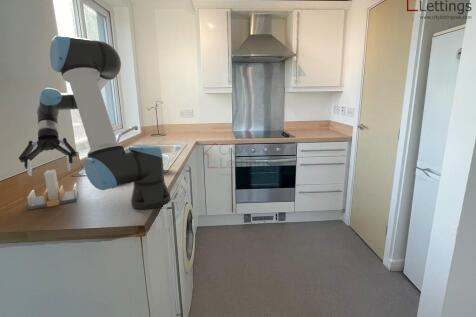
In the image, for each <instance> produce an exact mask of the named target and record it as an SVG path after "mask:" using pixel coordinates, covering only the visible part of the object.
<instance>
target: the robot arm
mask: <svg viewBox="0 0 476 317" xmlns="http://www.w3.org/2000/svg"><path fill="white" fill-rule="evenodd" d="M49 47H50V48H49V60H50V65H51V69H52V70H53V71H54V72H56V73H61V76H62V79H63V81H65V82H66V83H68V84H69V85H70V89H71V92H69V93H68V92H65V93H64V92H63V93H62V92H61V91H59V89H56V88H52V87H46V88H43V89H42V90H41V92H40V96H39V103H38V104H39V105H38V106H37V110H36V114H37V141H33V140H29V141H28V145H27V146H25V148H24V150H23V151H22V153H21V154H20V155H19V157H18V160H19V161H20V163H24V168H25V169H26V172H27V174H28V176H29V177H32V176H33V175H32V173H33V171H32V170H33V168H32V167H33V165H32V164H33V163H32V161H33V159H35V158H36V157H37V156H38V155H39V154H40V153H42V152H44V151H45V152H46V151H54V150H57V151H58V152H60V153H62V154H63V155H65V156H66V167H67V170H68V172H70V171H71V164H73V163H74V161H73V157H77V156H78V154H77V151H76V150H75V149H74V148H73V147H72V146H71V144H70V143H69V142H68V140H67V138H66V137H63V138H62V139H60V137H59V125H58V123H59V122H58V116H59V112H60V111H65V110H78V113H79V117H80V120H81V123H82V126H83V129H84V132H85V135H86V138H87V142H88V144H89V147H90V148H89V151H88V152H87V154H86V155H87V158H86V159H85V160H84V162H83V166H84V172H85V175H86V176H87V177H86V178H87V179H88V180H89V182H90V183H91V185H92V186H93V187H95V188H96V189H98V190H99V191H105V190H110V189H114V188H115V189H116V188H117V187H121V186H124V185H127V184H132V183H133V188H132V193H131V198H130V206H131V207H132V208H134V209H137V210H150V209H151V210H152V209H156V208H160V207H162V206H165V205H167V204H168V203H170V202H171V200H172V199H171V198H172V197H171V193H170V191H169V189H168V186H167V184H166V182H165V174H164V160H163V161H162V158H163V152H162V149H161V148H160V147H159V146H157V145H145V144H135V145H130V146H129V147H128V151H127V150H125V147H124V145H123V144H121V143H119V142H118V140H117V137H116V135H115V131H114V129H113V125H112V122H111V119H110V116H109V114H108V110H107V107H106V103H105V100H104V97H103V94H102V89H103V88H104V87H105V86H106V85H107V83H108V82H110V81H111V80H114V79H115V78H116V77H117V76H118V75H119V73H120V70H121V67H122V62H121V58H120V55H119V53H118V52H117V51H116V49H115V48H114V47H113V46H112V45H110V44H109V43H107V42H104V41H102V40H96V39H95V40H94V39H88V38H80V37H73V36H70V35H55V36H54V37H53V38H52V40H51V42H50V46H49ZM60 144H62V145H64V146H65V147H66V148H67V149H65V148H64V147H62V146H61V145H60Z"/></svg>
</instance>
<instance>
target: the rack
mask: <svg viewBox="0 0 476 317" xmlns="http://www.w3.org/2000/svg"><path fill="white" fill-rule="evenodd" d="M58 193H59V199H57V200H51V201H50V200H49V195H48V190H47V188H46V189H45V191H44V192H43V194H42V195H39V196H36V193H35V189H32V190H31V191H30V192H29V194H28V196H27V197H26V199H27V203H28V207H27V208H28V210H34V209H40V208H45V207H47V208H48V207H53V206H54V207H55V206H59V205H63V204H67V203H74V202H78V196H79V190H78V185H77V183H76V182H75V183H74V184H73V189H72V190H69V191H65V189H64V185H60V187H59V192H58Z"/></svg>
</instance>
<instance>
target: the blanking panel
mask: <svg viewBox="0 0 476 317" xmlns="http://www.w3.org/2000/svg"><path fill="white" fill-rule="evenodd" d="M43 175H44V176H43V177H44V180H45V184H46V189H47V190H48V195H49V200H50V201H51V200H57V199H59V193H58V192H59V190H60V187H59V181H58V177H57V171H56V169H55V168H54V169H46V171H45V172H44V173H43Z"/></svg>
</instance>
